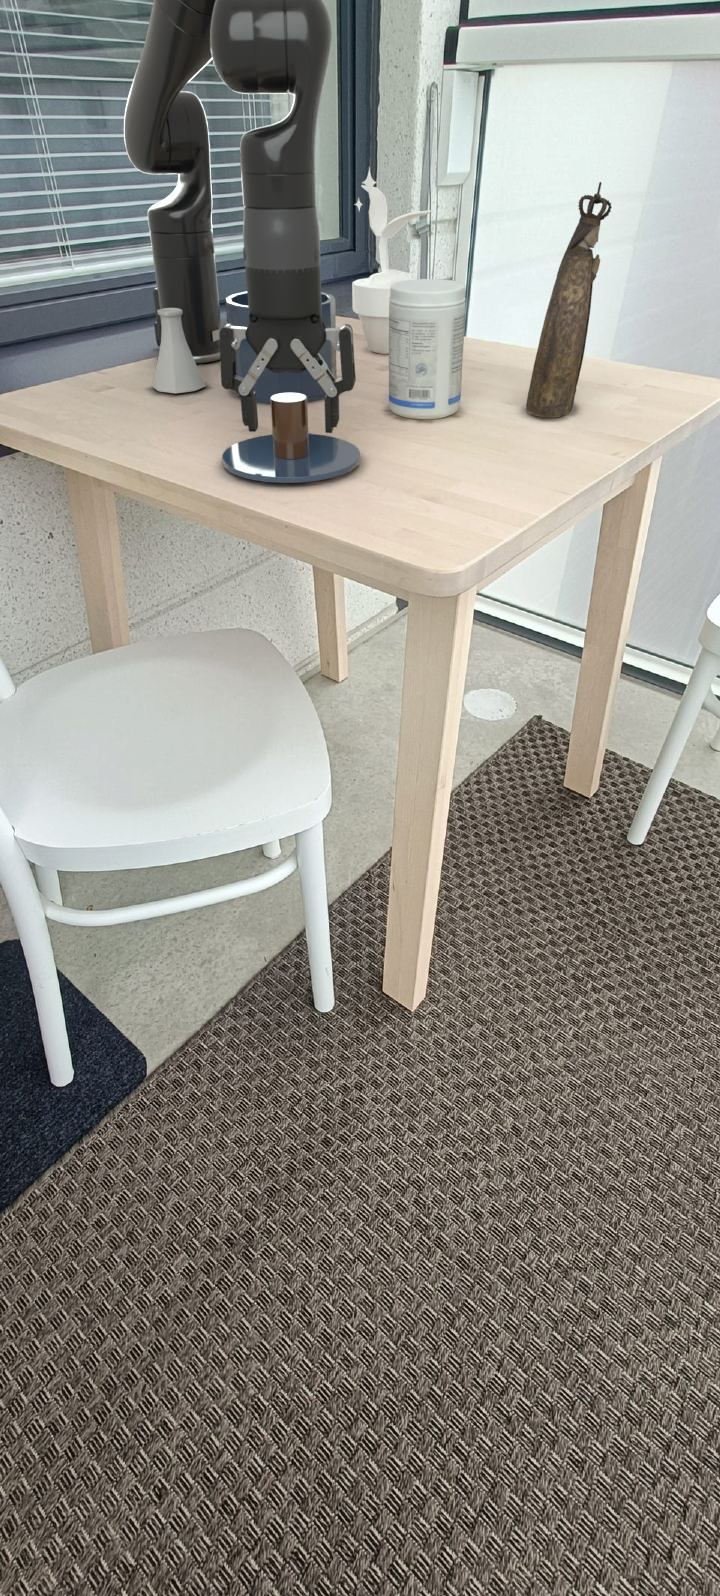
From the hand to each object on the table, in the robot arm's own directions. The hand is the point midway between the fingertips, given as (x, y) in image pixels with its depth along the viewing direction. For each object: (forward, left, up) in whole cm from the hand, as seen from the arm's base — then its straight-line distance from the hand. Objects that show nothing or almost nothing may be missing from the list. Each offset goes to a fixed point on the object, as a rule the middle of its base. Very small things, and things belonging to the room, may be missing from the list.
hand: (291, 430), depth 97 cm
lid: (0, 0, -3) cm, 3 cm away
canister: (-21, +25, -4) cm, 33 cm away
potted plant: (-22, +54, -4) cm, 58 cm away
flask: (-34, +17, -4) cm, 38 cm away
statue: (+15, +37, -4) cm, 40 cm away
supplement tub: (+1, +27, -4) cm, 27 cm away
